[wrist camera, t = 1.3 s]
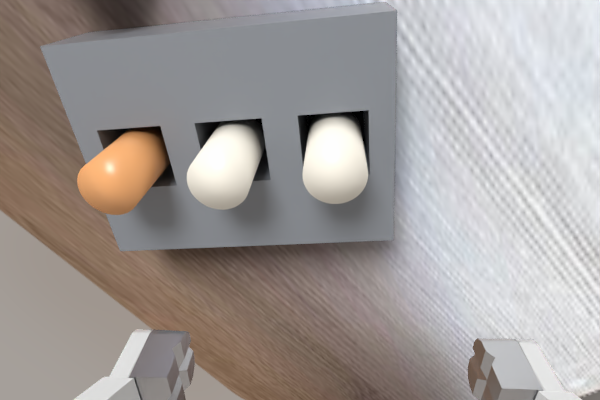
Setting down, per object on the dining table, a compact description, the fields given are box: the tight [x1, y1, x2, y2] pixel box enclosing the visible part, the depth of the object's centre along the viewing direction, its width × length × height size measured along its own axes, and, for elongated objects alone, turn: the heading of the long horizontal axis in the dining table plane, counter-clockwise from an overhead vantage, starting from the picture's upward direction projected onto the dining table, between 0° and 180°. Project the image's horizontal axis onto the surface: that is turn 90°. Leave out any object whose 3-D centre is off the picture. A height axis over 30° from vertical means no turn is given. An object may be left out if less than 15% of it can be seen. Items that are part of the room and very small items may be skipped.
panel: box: [40, 2, 397, 251], centre depth 31 cm, size 22×16×6 cm
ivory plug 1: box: [187, 119, 266, 210], centre depth 28 cm, size 4×4×7 cm
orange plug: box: [77, 126, 171, 215], centre depth 28 cm, size 4×4×7 cm
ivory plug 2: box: [302, 112, 368, 204], centre depth 27 cm, size 4×4×7 cm
